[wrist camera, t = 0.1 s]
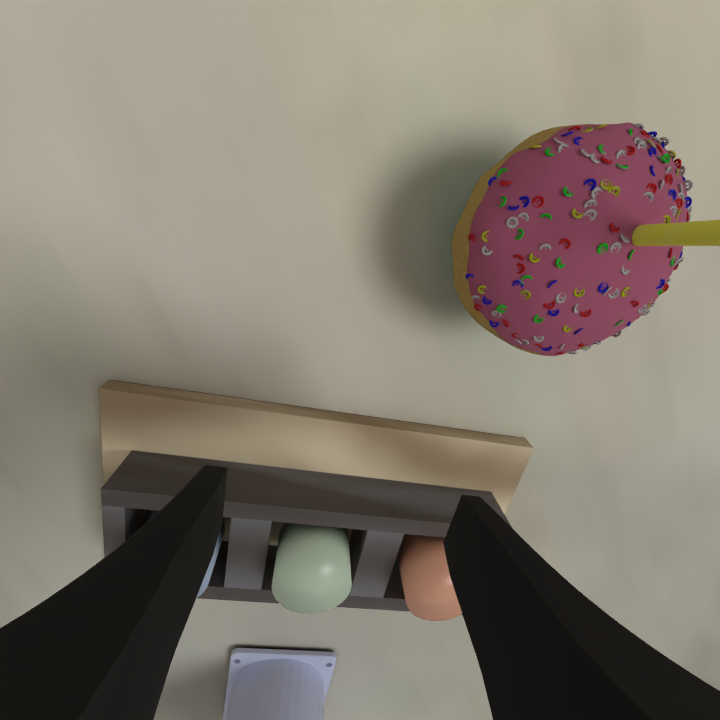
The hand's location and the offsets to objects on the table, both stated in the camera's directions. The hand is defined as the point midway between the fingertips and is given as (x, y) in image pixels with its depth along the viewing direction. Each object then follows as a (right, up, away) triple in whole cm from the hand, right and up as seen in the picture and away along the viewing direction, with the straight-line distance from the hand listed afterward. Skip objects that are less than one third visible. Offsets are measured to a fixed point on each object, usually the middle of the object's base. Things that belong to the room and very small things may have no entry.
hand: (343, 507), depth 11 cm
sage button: (-2, -6, +10) cm, 12 cm away
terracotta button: (+5, -7, +11) cm, 14 cm away
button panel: (-2, -5, +13) cm, 14 cm away
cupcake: (+8, +10, +7) cm, 15 cm away
